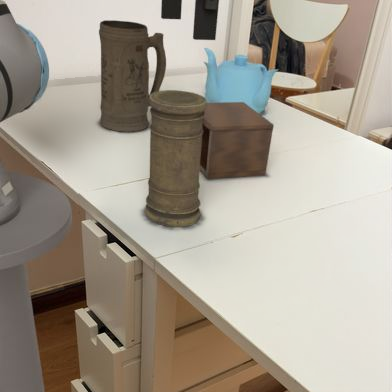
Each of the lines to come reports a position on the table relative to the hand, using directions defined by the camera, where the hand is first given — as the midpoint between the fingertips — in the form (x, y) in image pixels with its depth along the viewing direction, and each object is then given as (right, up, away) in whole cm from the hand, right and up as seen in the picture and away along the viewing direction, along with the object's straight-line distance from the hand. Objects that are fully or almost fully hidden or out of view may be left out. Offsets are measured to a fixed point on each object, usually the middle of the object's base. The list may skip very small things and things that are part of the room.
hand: (186, 28), depth 70 cm
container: (-3, -21, +16) cm, 27 cm away
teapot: (+10, +18, +64) cm, 68 cm away
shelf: (+7, -5, +36) cm, 37 cm away
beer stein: (-13, +9, +50) cm, 53 cm away
